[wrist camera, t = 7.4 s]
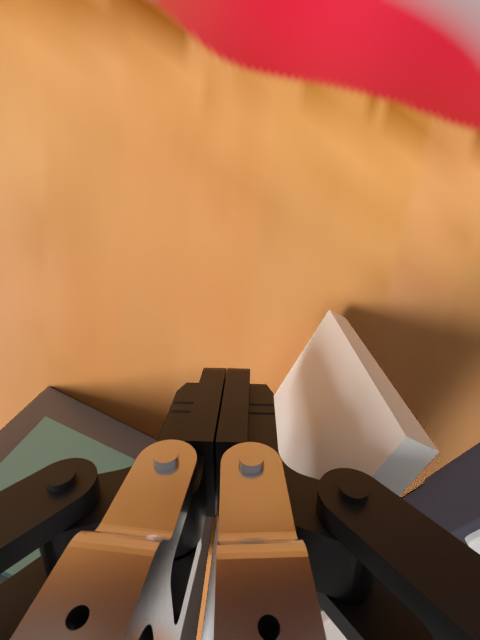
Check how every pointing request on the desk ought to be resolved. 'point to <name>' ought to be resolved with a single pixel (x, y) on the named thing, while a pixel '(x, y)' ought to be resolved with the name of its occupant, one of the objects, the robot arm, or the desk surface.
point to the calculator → (444, 507)
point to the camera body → (107, 455)
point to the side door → (347, 413)
